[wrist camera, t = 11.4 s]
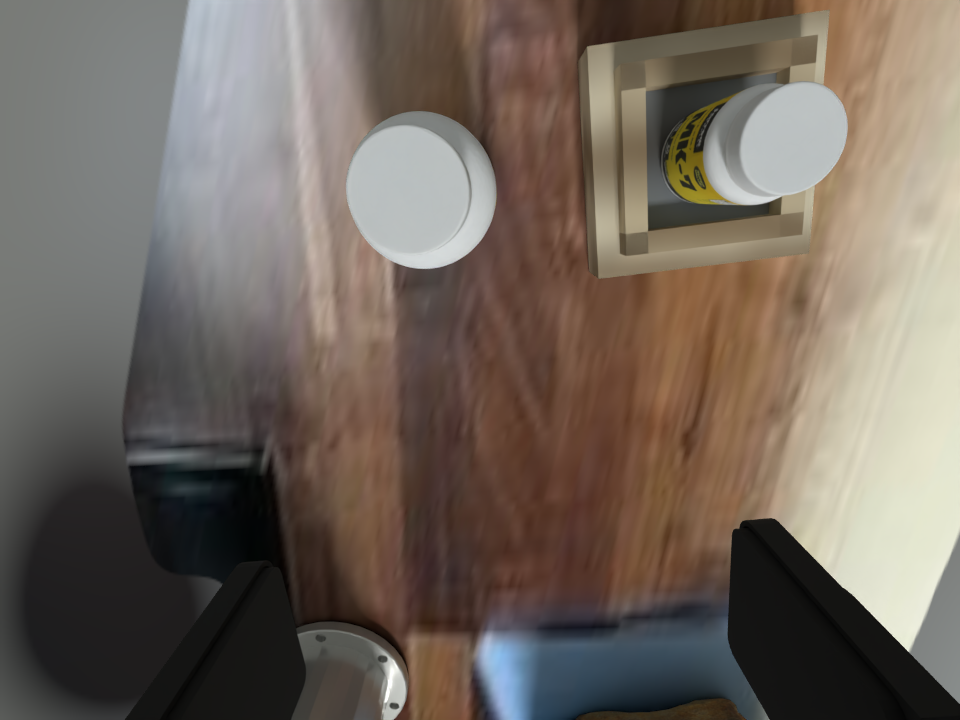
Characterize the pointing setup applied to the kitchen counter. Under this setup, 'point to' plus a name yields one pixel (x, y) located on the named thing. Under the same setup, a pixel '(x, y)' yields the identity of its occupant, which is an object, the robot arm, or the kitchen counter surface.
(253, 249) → the kitchen counter surface
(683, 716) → the rough brown rock
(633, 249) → the plinth
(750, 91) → the supplement bottle
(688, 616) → the kitchen counter surface
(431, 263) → the supplement bottle
